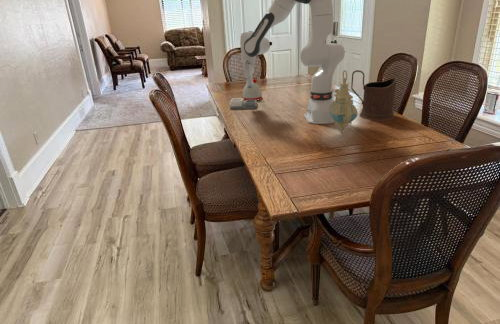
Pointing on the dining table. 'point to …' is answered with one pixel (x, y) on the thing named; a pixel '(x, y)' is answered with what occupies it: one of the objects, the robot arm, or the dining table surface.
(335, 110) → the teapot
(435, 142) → the dining table surface
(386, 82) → the brown pitcher
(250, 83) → the cell
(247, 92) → the kitchen timer
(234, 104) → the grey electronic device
